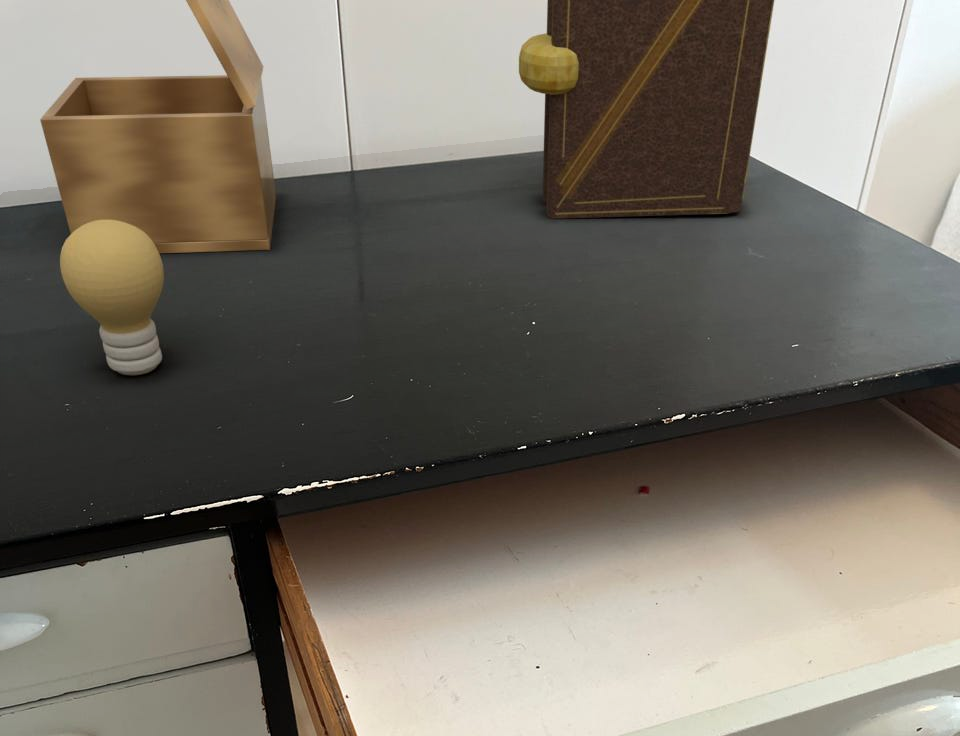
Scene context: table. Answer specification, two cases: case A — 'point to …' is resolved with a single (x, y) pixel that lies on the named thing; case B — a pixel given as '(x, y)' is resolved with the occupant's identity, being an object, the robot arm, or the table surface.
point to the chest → (165, 160)
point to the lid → (230, 46)
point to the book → (647, 104)
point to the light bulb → (117, 289)
